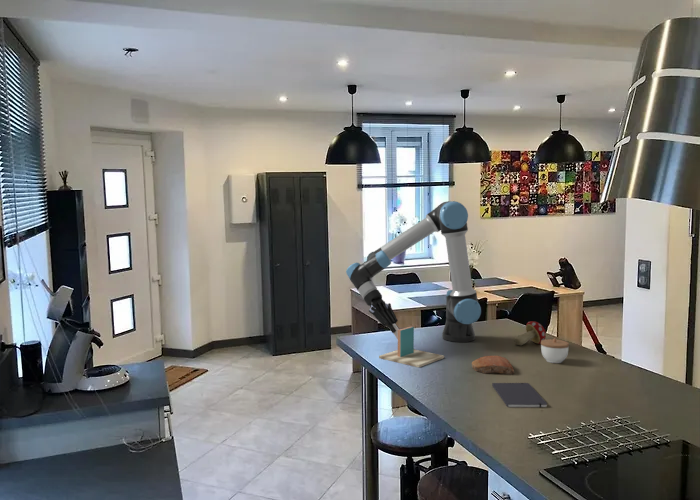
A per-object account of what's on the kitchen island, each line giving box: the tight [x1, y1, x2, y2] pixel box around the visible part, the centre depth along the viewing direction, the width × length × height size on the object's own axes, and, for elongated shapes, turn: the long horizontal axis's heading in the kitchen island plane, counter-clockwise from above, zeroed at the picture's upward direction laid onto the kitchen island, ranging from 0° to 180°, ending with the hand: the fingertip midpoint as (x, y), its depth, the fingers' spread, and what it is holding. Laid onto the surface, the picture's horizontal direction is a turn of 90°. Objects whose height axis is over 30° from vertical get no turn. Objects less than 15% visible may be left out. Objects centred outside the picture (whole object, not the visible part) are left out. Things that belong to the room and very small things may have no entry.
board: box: [378, 348, 445, 368], centre depth 243 cm, size 20×18×1 cm
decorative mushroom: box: [514, 321, 547, 346], centre depth 264 cm, size 11×11×15 cm
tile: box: [397, 326, 415, 357], centre depth 244 cm, size 2×9×11 cm, turn 138°
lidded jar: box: [540, 337, 570, 364], centre depth 237 cm, size 11×11×9 cm
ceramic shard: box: [471, 355, 515, 375], centre depth 227 cm, size 15×6×15 cm
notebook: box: [492, 382, 548, 408], centre depth 196 cm, size 13×2×21 cm
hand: (400, 337), depth 245 cm, fingers closed
